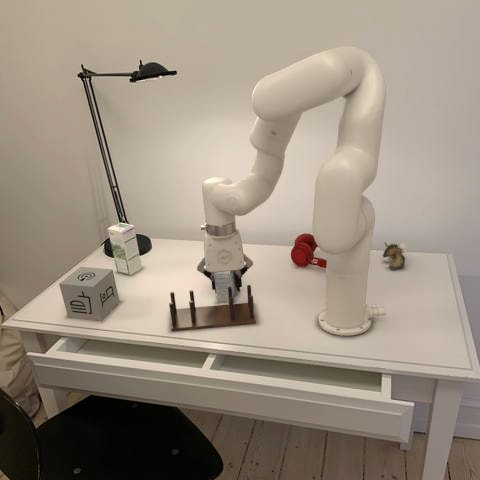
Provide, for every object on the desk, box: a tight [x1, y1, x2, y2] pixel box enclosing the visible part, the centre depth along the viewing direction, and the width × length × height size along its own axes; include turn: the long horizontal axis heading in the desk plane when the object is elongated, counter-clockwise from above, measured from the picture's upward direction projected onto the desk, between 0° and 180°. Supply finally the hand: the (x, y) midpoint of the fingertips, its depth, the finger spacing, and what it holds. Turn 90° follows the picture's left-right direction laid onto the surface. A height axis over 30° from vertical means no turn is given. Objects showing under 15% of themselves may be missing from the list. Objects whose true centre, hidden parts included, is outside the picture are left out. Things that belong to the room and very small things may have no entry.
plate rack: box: [168, 284, 257, 332], centre depth 130 cm, size 21×10×7 cm, turn 94°
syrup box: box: [107, 222, 143, 276], centre depth 155 cm, size 6×6×14 cm
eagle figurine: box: [382, 241, 408, 271], centre depth 151 cm, size 8×7×9 cm
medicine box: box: [214, 271, 238, 303], centre depth 139 cm, size 8×4×9 cm, turn 170°
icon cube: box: [58, 266, 120, 322], centre depth 137 cm, size 10×10×10 cm
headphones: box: [290, 232, 327, 269], centre depth 155 cm, size 15×7×20 cm
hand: (227, 289), depth 140 cm, fingers closed on medicine box, 5 cm apart
